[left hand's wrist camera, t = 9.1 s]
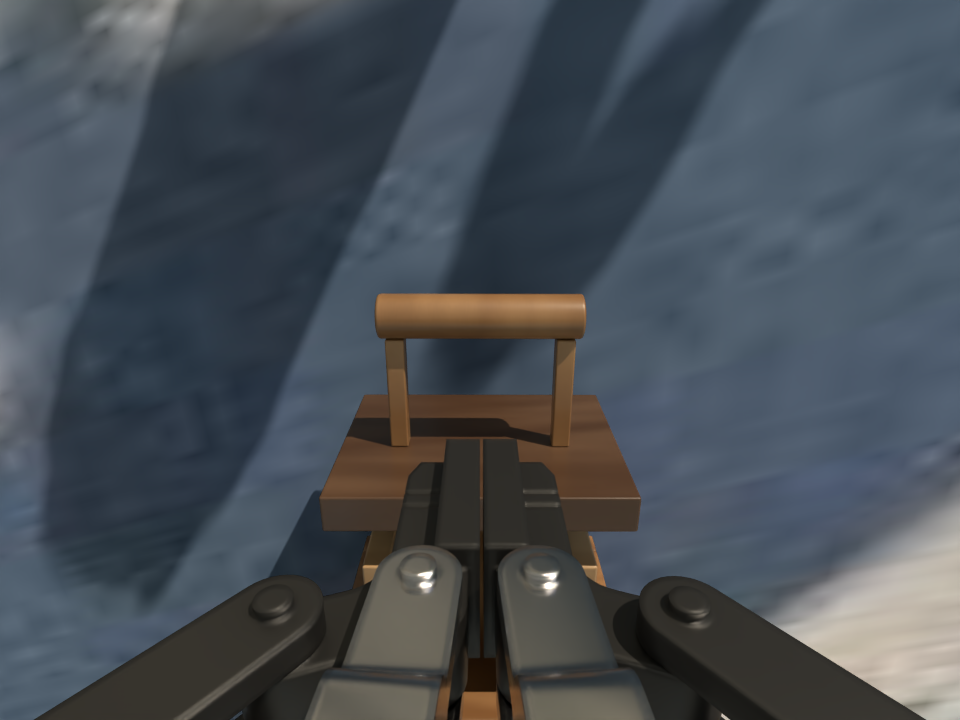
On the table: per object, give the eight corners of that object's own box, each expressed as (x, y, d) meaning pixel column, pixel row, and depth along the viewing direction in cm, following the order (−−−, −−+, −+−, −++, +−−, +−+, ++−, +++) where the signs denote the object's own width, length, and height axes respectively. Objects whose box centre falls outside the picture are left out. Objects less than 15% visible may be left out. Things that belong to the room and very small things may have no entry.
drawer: (354, 266, 22) (298, 326, 15) (606, 267, 22) (663, 327, 15) (391, 746, 31) (367, 915, 24) (567, 747, 31) (591, 915, 24)
